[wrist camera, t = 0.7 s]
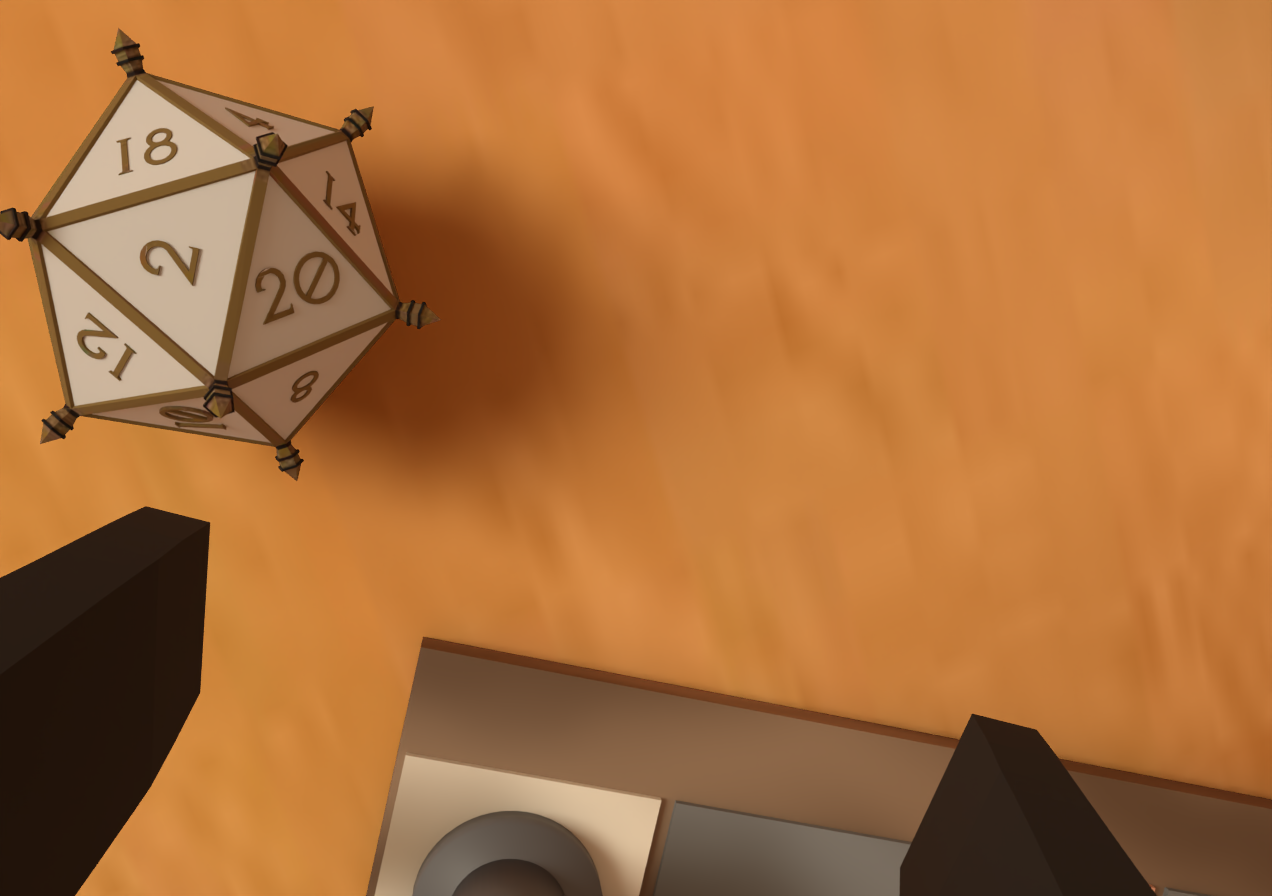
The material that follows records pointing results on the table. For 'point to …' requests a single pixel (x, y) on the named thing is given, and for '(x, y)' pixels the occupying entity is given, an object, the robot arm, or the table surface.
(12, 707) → the robot arm
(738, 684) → the table surface
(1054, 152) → the table surface
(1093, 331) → the table surface
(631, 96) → the table surface
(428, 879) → the pawn
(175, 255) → the game die
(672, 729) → the board
